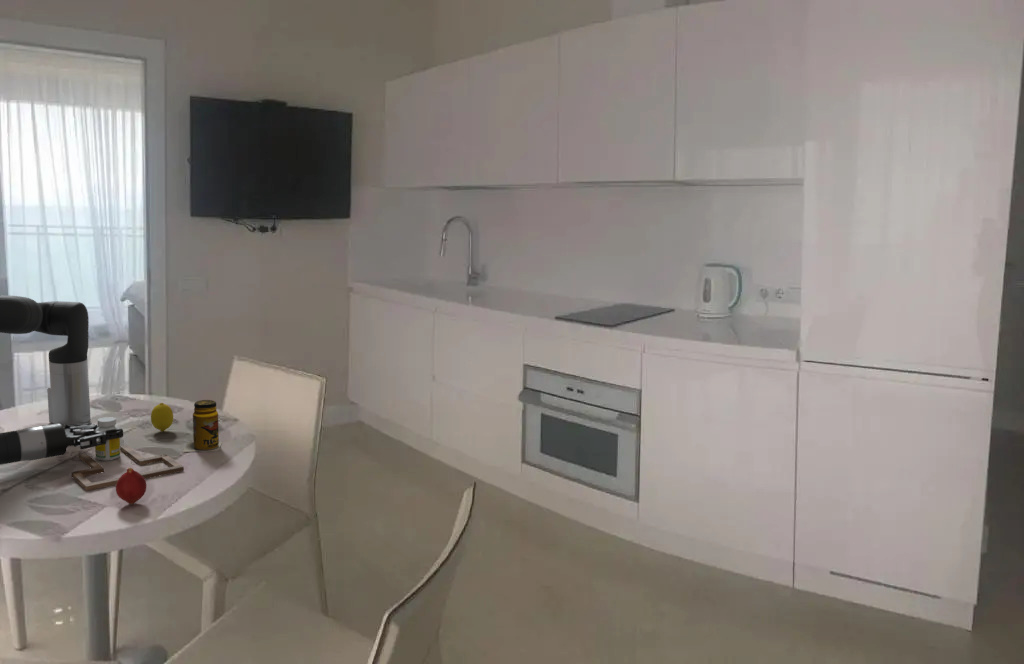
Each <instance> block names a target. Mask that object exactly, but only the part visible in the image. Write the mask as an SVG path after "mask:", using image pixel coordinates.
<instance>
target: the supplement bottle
mask: <svg viewBox="0 0 1024 664" xmlns="http://www.w3.org/2000/svg"><path fill="white" fill-rule="evenodd" d="M116 424H117V418H116V417H115V416H114V417H113V416H104V417H100V418H98V419H97V425H98V426H99V427H98V428H96V429H95V431H106V430H112V429H118V428H119V426H117V425H116ZM97 439H100V437H98V438H97ZM120 446H121V438H116V439H111V440H107V441H106V444H104V445H99V446H95V447H94V448H95V459H96V460H99V461H103V462H104V461H113V460H116V459H118V458H120V456H121V450H120Z"/></svg>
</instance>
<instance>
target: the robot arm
mask: <svg viewBox="0 0 1024 664" xmlns="http://www.w3.org/2000/svg"><path fill="white" fill-rule="evenodd" d="M89 322H90V321H89V312H88V309H87V307H86V305H85V304H84V303H82V302H80V301H79V302H78V301H58V300H57V301H56V300H54V301H53V300H51V301H44V302H43V301H42V302H37V301H36V300H34V299H32V298H29V297H26V296H19V295H18V296H17V295H0V334H3V333H4V334H10V335H25V334H30V333H34V332H37V333H41V334H45V335H51V336H61V337H62V336H65V337H67V342H66V343H65V344H64V345H62V346H58V347H54V348H53V349H50V350H49V351H48V368H49V383H50V384H49V385H50V387H47V406H48V408H47V409H48V422H49V424H45V425H44V424H42V425H38V426H30V427H29V426H28V427H25V428H21V429H17V430H12V431H11V430H10V431H6V432H0V465H1V466H2V465H8V464H13V463H17V462H19V463H20V462H27V461H28V462H30V461H37V460H42V459H47V458H54V457H59V456H63V455H66V453H67V449H68V447H75V448H79V449H80V450H85V449H90V448H95V446H99V445H104V444H106V441H107V440H111V439H116V438H120V439H121V438H123V437H124V430H123V429H122V428H121V427H120V428H119V427H118V429H112V430H106V431H95V429H96V428H98V427H99V426H98V423H92V422H90V421H91V402H90V401H91V400H90V388H89V387H90V386H89V385H90V384H89V383H90V382H89V381H90V380H89V365H88V364H89V363H88V353H89V326H90V325H89V324H90V323H89ZM98 437H100V439H97V438H98Z"/></svg>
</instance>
